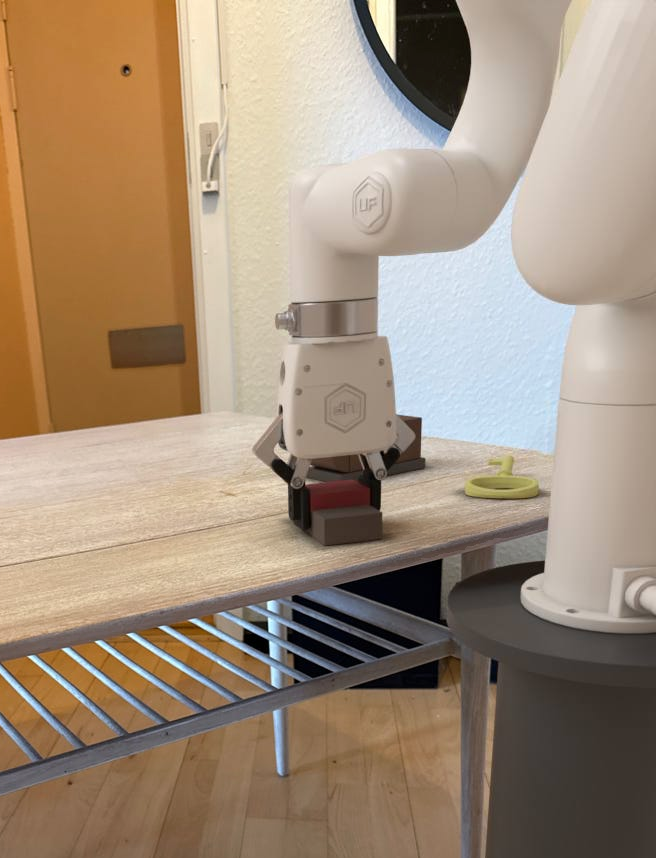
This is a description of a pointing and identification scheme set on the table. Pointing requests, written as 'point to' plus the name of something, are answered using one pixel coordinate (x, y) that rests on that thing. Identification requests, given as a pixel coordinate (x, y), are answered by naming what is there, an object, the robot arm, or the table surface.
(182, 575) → the table surface
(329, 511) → the two-tier step block
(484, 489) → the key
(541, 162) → the robot arm
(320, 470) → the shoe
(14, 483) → the table surface
